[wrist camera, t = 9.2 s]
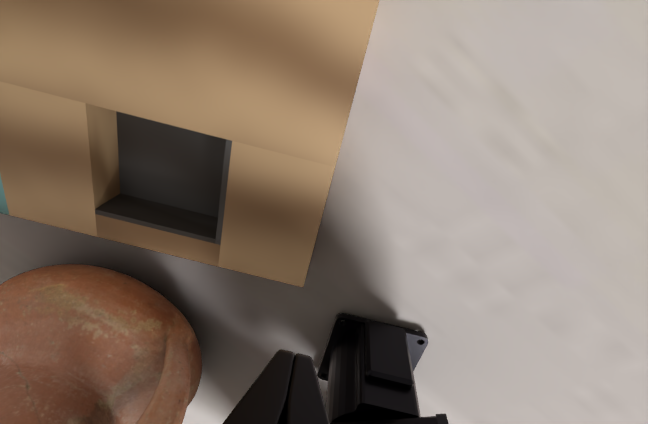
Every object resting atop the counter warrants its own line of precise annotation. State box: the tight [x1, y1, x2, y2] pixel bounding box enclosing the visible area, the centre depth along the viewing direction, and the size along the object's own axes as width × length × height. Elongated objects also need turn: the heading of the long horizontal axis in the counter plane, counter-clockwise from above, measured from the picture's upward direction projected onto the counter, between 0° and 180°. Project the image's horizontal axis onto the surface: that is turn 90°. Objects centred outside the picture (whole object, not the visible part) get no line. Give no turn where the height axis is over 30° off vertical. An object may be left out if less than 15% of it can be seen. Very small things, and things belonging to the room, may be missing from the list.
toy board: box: [0, 0, 379, 287], centre depth 15 cm, size 23×24×4 cm
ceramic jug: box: [0, 264, 202, 424], centre depth 19 cm, size 18×14×14 cm
